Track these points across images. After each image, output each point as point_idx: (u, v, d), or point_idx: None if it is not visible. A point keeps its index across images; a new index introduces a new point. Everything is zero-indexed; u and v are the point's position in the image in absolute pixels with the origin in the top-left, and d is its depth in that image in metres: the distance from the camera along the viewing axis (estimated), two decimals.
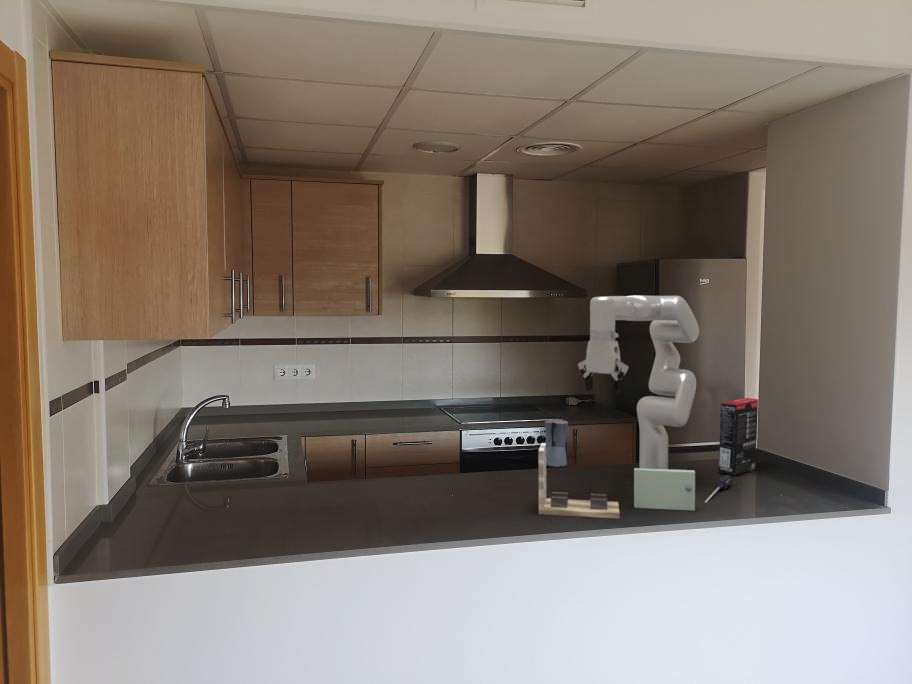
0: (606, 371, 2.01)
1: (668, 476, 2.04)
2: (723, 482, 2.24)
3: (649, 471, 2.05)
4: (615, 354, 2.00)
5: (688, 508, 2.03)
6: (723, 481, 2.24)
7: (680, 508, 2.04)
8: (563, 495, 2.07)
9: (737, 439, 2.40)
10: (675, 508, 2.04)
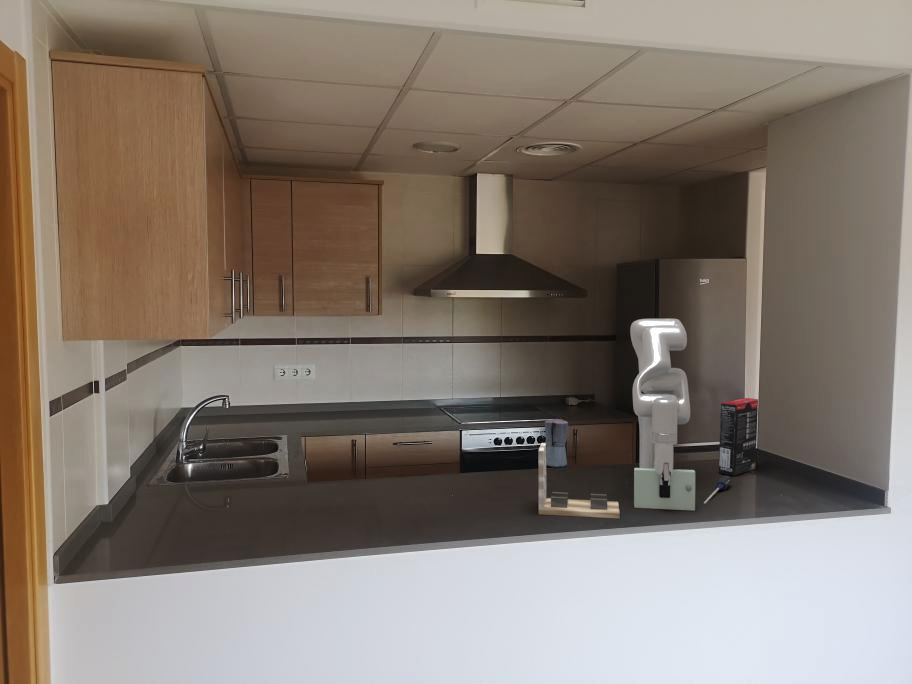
0: None
1: None
2: (723, 483, 2.23)
3: (649, 471, 2.05)
4: None
5: (688, 508, 2.03)
6: (723, 482, 2.23)
7: (680, 508, 2.03)
8: (563, 495, 2.07)
9: (737, 439, 2.40)
10: (675, 508, 2.04)
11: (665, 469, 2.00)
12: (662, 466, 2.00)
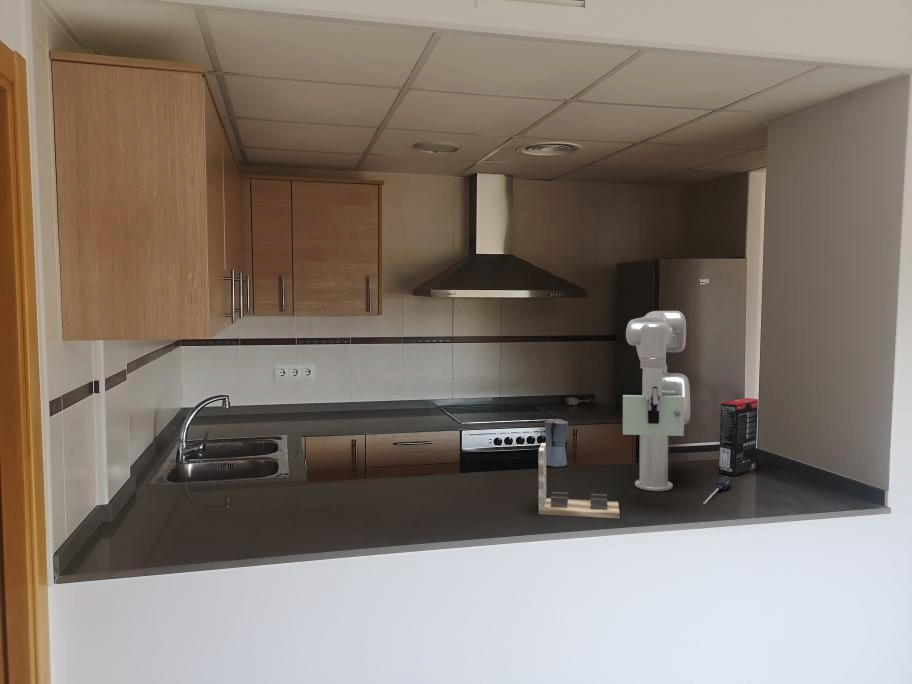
0: None
1: None
2: (722, 483, 2.23)
3: (638, 397, 2.03)
4: None
5: (677, 433, 2.02)
6: (722, 482, 2.23)
7: (669, 433, 2.02)
8: (563, 495, 2.07)
9: (737, 439, 2.40)
10: (664, 434, 2.02)
11: (654, 393, 1.98)
12: (651, 390, 1.99)
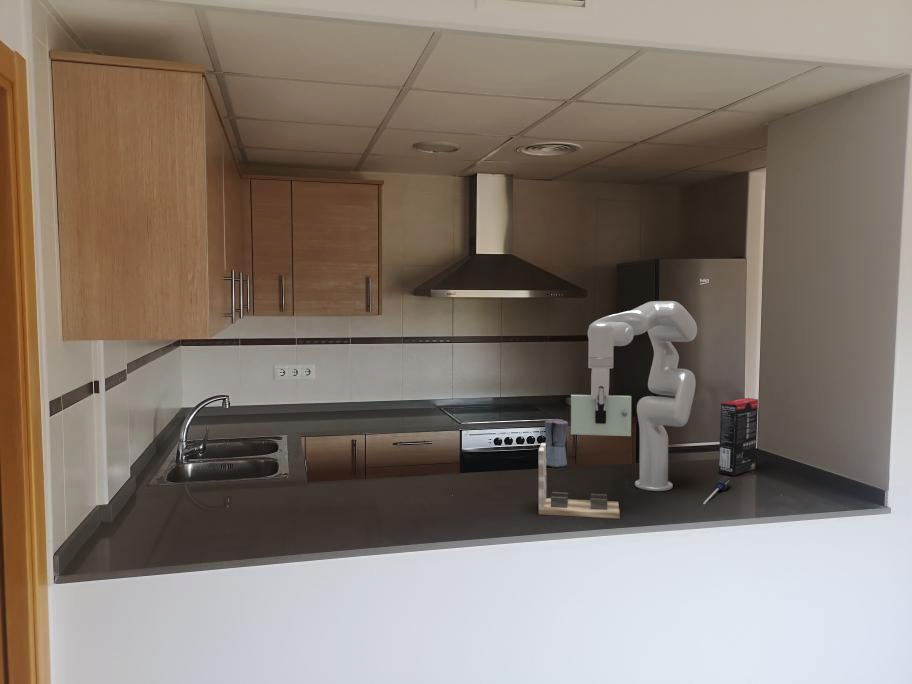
0: None
1: None
2: (722, 483, 2.23)
3: (586, 396, 2.02)
4: None
5: (624, 433, 2.00)
6: (722, 482, 2.23)
7: (616, 434, 2.01)
8: (563, 495, 2.07)
9: (737, 439, 2.40)
10: (611, 434, 2.01)
11: (600, 393, 1.97)
12: (597, 390, 1.97)
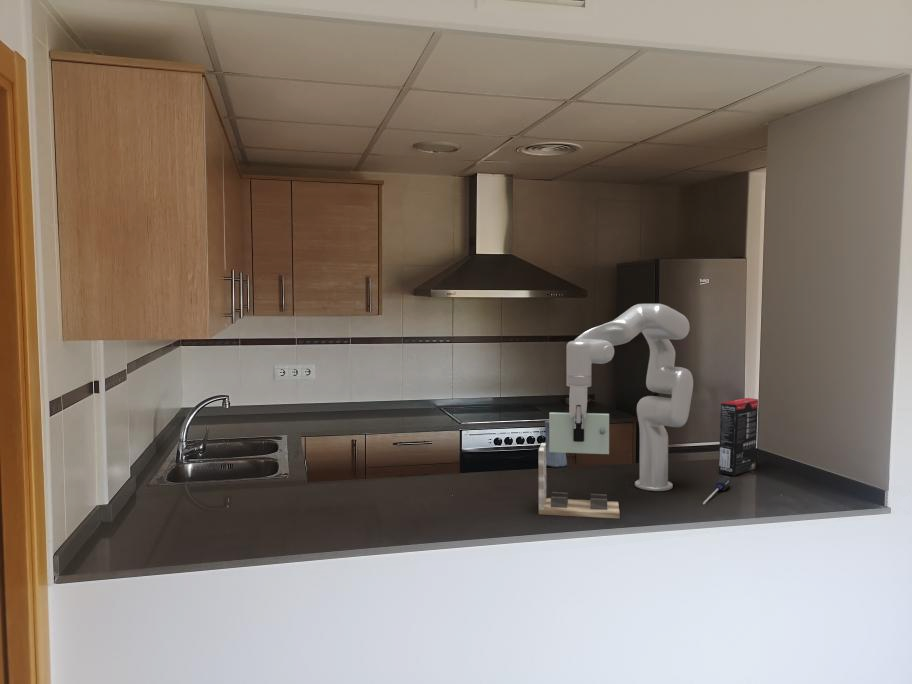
0: None
1: None
2: (722, 483, 2.22)
3: (564, 414, 2.02)
4: None
5: (602, 451, 2.00)
6: (722, 482, 2.22)
7: (594, 452, 2.01)
8: (563, 495, 2.07)
9: (737, 439, 2.40)
10: (589, 452, 2.01)
11: (577, 411, 1.97)
12: (574, 408, 1.98)
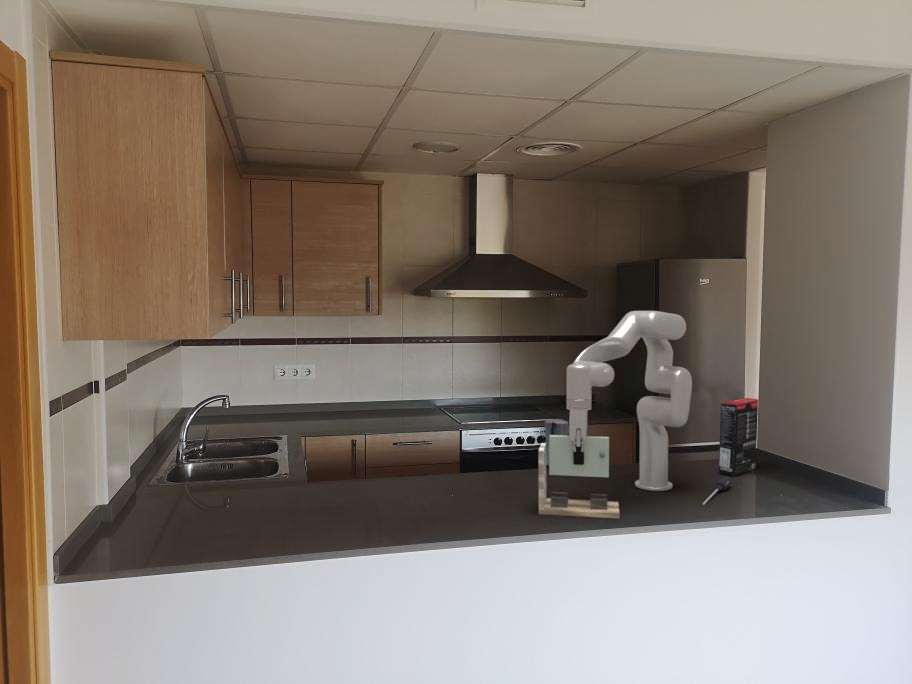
0: None
1: None
2: (722, 484, 2.22)
3: (564, 437, 2.03)
4: None
5: (602, 475, 2.01)
6: (722, 483, 2.22)
7: (594, 475, 2.01)
8: (563, 495, 2.07)
9: (737, 439, 2.40)
10: (589, 475, 2.02)
11: (577, 435, 1.98)
12: (574, 432, 1.98)
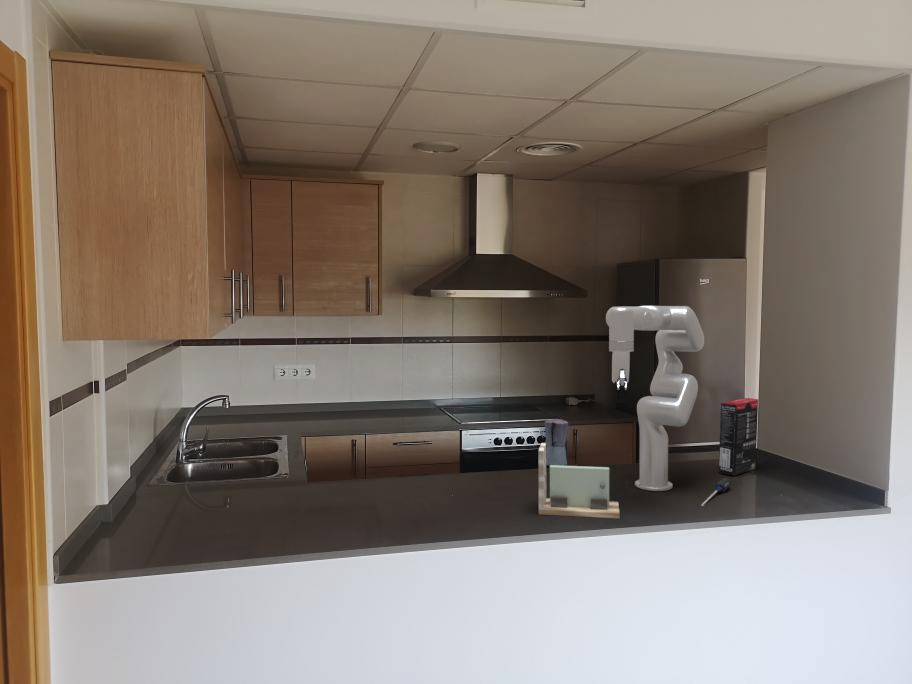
0: None
1: (583, 473, 2.02)
2: (721, 485, 2.21)
3: (564, 468, 2.03)
4: None
5: None
6: (721, 484, 2.21)
7: None
8: None
9: (737, 439, 2.40)
10: (590, 505, 2.02)
11: None
12: (618, 372, 2.03)
